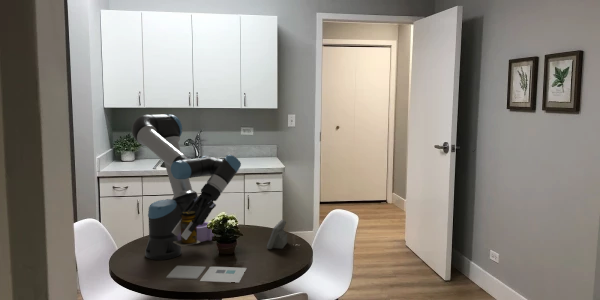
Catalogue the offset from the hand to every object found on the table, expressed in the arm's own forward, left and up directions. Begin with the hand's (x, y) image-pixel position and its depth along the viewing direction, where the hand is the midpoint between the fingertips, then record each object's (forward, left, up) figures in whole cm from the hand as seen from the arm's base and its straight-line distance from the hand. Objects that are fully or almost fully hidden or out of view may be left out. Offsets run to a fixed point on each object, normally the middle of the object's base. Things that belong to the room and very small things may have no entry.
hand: (178, 235), depth 181 cm
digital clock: (+32, +42, -16) cm, 55 cm away
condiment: (+2, +3, -4) cm, 5 cm away
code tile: (+17, +3, -16) cm, 23 cm away
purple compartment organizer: (-10, +48, -16) cm, 51 cm away
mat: (+2, +3, -16) cm, 16 cm away
